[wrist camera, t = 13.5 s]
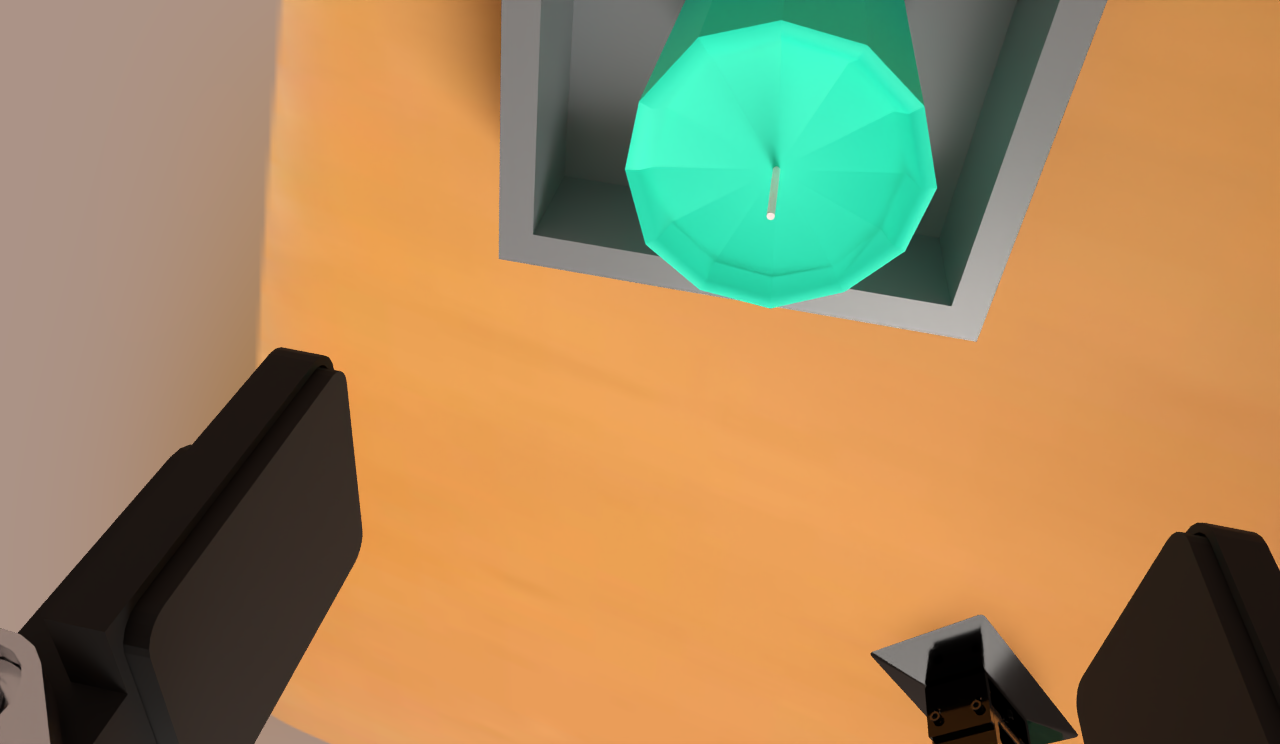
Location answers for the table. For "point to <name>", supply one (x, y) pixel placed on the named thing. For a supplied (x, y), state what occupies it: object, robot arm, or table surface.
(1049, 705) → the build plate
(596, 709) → the table surface
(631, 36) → the bin
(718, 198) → the candle
